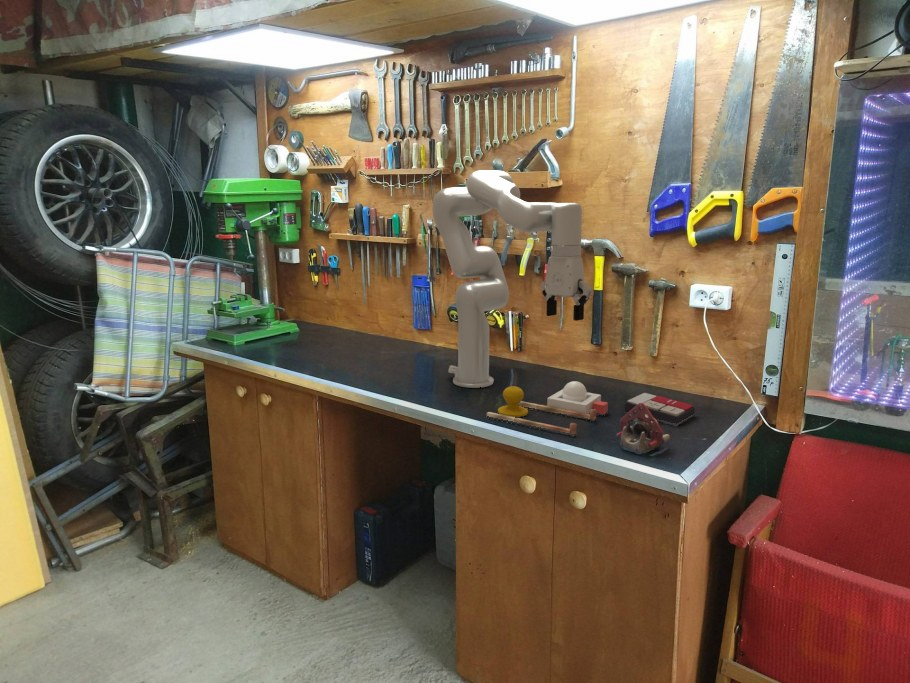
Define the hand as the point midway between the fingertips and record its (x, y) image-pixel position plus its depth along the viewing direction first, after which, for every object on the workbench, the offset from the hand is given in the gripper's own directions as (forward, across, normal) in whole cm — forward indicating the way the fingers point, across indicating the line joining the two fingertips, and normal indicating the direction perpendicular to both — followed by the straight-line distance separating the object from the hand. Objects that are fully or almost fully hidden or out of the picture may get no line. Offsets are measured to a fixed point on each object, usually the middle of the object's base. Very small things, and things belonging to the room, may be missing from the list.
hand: (564, 317), depth 176 cm
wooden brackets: (+26, 0, -9) cm, 27 cm away
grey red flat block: (+27, +16, +19) cm, 37 cm away
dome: (+25, 0, +5) cm, 25 cm away
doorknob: (+26, -7, -12) cm, 29 cm away
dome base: (+26, +1, +5) cm, 26 cm away
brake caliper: (+27, +28, -4) cm, 39 cm away
